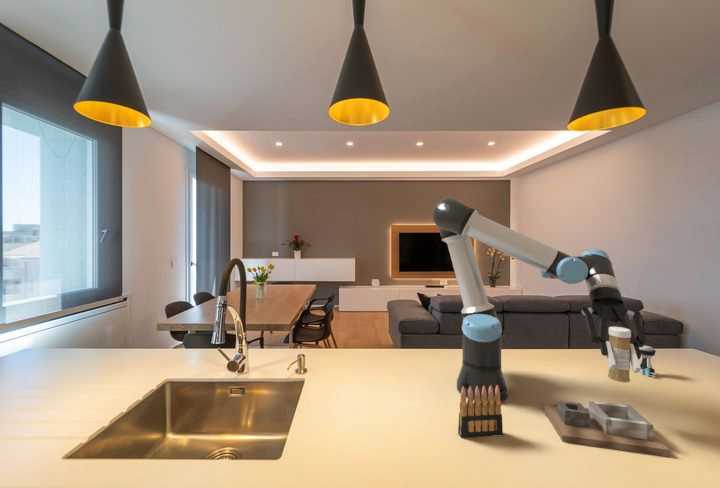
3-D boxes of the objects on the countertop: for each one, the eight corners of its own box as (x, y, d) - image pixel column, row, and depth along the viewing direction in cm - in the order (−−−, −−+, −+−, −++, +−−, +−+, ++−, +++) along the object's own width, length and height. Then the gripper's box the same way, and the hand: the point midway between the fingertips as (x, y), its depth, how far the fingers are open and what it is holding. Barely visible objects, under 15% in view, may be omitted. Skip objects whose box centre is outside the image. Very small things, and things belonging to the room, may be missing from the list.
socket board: (562, 441, 75) (562, 420, 75) (542, 408, 90) (541, 390, 90) (670, 456, 70) (669, 434, 70) (628, 418, 85) (628, 400, 85)
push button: (663, 379, 111) (662, 350, 111) (646, 378, 112) (646, 349, 112) (648, 371, 118) (648, 344, 118) (632, 370, 119) (632, 344, 119)
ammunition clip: (498, 431, 79) (499, 383, 79) (503, 435, 77) (503, 386, 78) (457, 433, 78) (458, 384, 78) (461, 438, 76) (461, 388, 76)
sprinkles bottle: (608, 374, 86) (609, 325, 86) (630, 379, 83) (631, 328, 83) (607, 379, 83) (608, 328, 83) (630, 385, 80) (630, 331, 80)
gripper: (636, 302, 94) (663, 381, 78) (568, 298, 100) (580, 369, 85) (645, 287, 89) (675, 367, 73) (572, 283, 95) (586, 356, 80)
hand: (624, 368), depth 79 cm, fingers closed on sprinkles bottle, 4 cm apart
